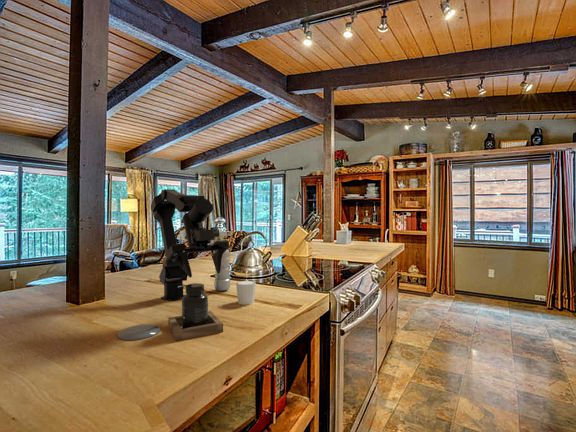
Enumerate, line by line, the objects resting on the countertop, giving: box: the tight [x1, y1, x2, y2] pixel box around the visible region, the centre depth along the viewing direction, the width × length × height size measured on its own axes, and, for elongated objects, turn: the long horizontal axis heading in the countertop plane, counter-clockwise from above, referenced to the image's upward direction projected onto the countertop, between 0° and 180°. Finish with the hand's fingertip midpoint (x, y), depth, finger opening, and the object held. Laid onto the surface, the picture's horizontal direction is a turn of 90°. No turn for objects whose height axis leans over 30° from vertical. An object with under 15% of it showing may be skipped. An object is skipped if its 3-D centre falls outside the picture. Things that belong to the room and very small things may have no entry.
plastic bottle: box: [213, 249, 232, 292], centre depth 128 cm, size 6×7×20 cm
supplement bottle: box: [181, 282, 209, 329], centre depth 87 cm, size 7×7×12 cm
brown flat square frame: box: [167, 310, 224, 342], centre depth 87 cm, size 12×12×2 cm
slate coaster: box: [117, 323, 161, 341], centre depth 84 cm, size 10×10×1 cm
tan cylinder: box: [235, 280, 257, 306], centre depth 111 cm, size 7×7×7 cm
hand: (205, 275), depth 96 cm, fingers open, 9 cm apart
